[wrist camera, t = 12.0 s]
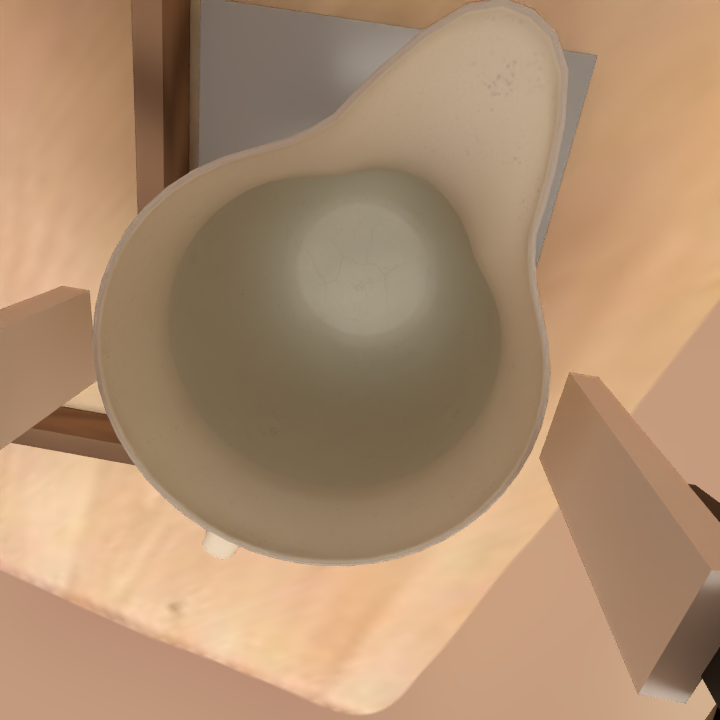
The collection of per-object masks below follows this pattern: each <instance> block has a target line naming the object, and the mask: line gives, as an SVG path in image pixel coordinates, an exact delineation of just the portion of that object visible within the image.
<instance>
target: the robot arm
mask: <svg viewBox="0 0 720 720" xmlns="http://www.w3.org/2000/svg"><path fill="white" fill-rule="evenodd" d="M95 381H97V377H96V371H95V365H94V354H93V326H92V314H91V303H90V291H89V290H83V289H77V288H71V287H65V286H61V287H58V288H56V289H53V290H51V291H48V292H45V293H43V294H40V295H37V296H35V297H32V298H30V299H27V300H24V301H22V302H19V303H16V304H14V305H11V306H8V307H6V308H3V309H1V310H0V450H1V449H2V448H4V447H5V446H7V445H8V444H9V443H11V442H12V441H13V440H15V439H16V438H18V437H19V436H20V435H22V434H23V433H25V432H26V431H27V430H29V429H30V428H32V427H33V426H34V425H36V424H37V423H38V422H40V421H41V420H43V419H44V418H45V417H47V416H48V415H50V414H51V413H52V412H54V411H55V410H56V409H58V408H59V407H61V406H62V405H63V404H65V403H66V402H68V401H69V400H70V399H72V398H73V397H75V396H76V395H77V394H79V393H80V392H81V391H83V390H84V389H86V388H87V387H88V386H90V385H91V384H93V383H94V382H95ZM539 459H540V461H541V464H542V466H543V468H544V471H545V473H546V476H547V478H548V480H549V483H550V485H551V488H552V490H553V492H554V495H555V497H556V499H557V502H558V504H559V507H560V509H561V511H562V514H563V516H564V518H565V521H566V523H567V526H568V528H569V530H570V533H571V535H572V538H573V540H574V543H575V545H576V547H577V550H578V552H579V555H580V557H581V559H582V562H583V564H584V567H585V569H586V571H587V574H588V576H589V578H590V581H591V583H592V586H593V588H594V590H595V593H596V595H597V598H598V600H599V602H600V605H601V607H602V610H603V612H604V614H605V617H606V619H607V622H608V624H609V626H610V629H611V631H612V633H613V636H614V638H615V641H616V643H617V646H618V648H619V650H620V653H621V655H622V658H623V660H624V662H625V665H626V667H627V669H628V672H629V674H630V676H631V679H632V681H633V684H634V686H635V688H636V691H637V693H638V695H643V696H649V697H654V698H659V699H664V700H670V701H675V702H680V703H686V702H687V701H688V699H689V698H690V696H691V695H692V693H693V692H694V690H695V689H696V687H697V686H698V684H699V683H700V681H701V680H702V679H703V680H704V682H705V684H706V686H707V688H708V690H709V691H710V693H711V695H712V697H713V699H714V700H715V702H716V705H715V706H714V708H713V709H712V711H711V712H710V714H709V715H708V716H707V718H706V719H705V720H720V503H719V502H717V501H716V500H715V499H713V498H712V497H711V496H710V495H708V494H707V493H705V492H704V491H703V490H701V489H700V488H699V487H697V486H696V485H691V484H687V483H686V482H685V480H684V479H683V478H682V477H681V475H680V474H679V473H678V472H677V471H676V469H675V468H674V467H673V466H672V465H671V464H670V462H669V461H668V460H667V459H666V457H665V456H664V455H663V454H662V453H661V451H660V450H659V449H658V448H657V447H656V446H655V444H654V443H653V442H652V441H651V440H650V438H649V437H648V436H647V435H646V434H645V432H644V431H643V430H642V429H641V428H640V426H639V425H638V424H637V423H636V422H635V420H634V419H633V418H632V417H631V416H630V414H629V413H628V412H627V411H626V410H625V408H624V407H623V406H622V405H621V404H620V402H619V401H618V400H617V399H616V398H615V396H614V395H613V394H612V393H611V392H610V390H609V389H608V388H607V387H606V386H605V384H604V383H603V382H602V381H601V380H600V378H599V377H594V376H589V375H583V374H577V373H571V372H569V375H568V378H567V381H566V384H565V387H564V389H563V392H562V395H561V398H560V401H559V404H558V406H557V409H556V412H555V415H554V418H553V421H552V423H551V426H550V429H549V432H548V435H547V438H546V441H545V443H544V446H543V449H542V452H541V455H540V458H539Z"/></svg>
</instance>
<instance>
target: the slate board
mask: <svg viewBox="0 0 720 720" xmlns="http://www.w3.org/2000/svg"><path fill="white" fill-rule="evenodd" d="M421 31H422V29H415V28H409V27H402V26H395V25H388V24H382V23H375V22H368V21H362V20H355V19H348V18H341V17H335V16H328V15H321V14H314V13H308V12H301V11H294V10H287V9H281V8H274V7H267V6H260V5H254V4H247V3H240V2H233V1H227V0H201V17H200V85H199V153H198V167H201V166H203V165H205V164H207V163H210V162H212V161H214V160H216V159H219V158H221V157H223V156H227V155H230V154H233V153H237V152H240V151H244V150H247V149H251V148H254V147H257V146H261V145H264V144H268V143H271V142H275V141H278V140H282V139H285V138H288V137H290V136H293V135H295V134H297V133H299V132H302V131H304V130H306V129H308V128H311V127H313V126H314V125H316V124H318V123H319V122H321V121H323V120H324V119H326V118H328V117H329V116H331V115H333V114H334V113H335V112H336V111H337V110H338V109H339V108H340V107H341V106H342V104H343V103H344V102H345V101H346V100H347V99H348V98H349V97H350V96H351V95H352V94H353V93H354V92H355V91H356V90H357V89H358V88H359V87H360V86H361V85H362V84H363V83H364V82H365V81H366V80H367V79H368V78H369V77H370V76H371V75H372V74H373V73H374V72H375V71H376V70H377V69H378V68H379V67H380V66H381V65H382V64H383V63H384V62H386V61H387V60H388V59H389V58H390V57H391V56H393V55H394V54H395V53H396V52H397V51H399V50H400V49H401V48H402V47H403V46H404V45H406V44H407V43H408V42H409V41H410V40H411V39H413V38H414V37H415V36H416V35H417V34H419V33H420V32H421ZM563 54H564V57H565V60H566V64H567V67H568V86H567V103H566V119H565V127H564V131H563V136H562V141H561V146H560V151H559V156H558V161H557V166H556V171H555V175H554V178H553V182H552V186H551V189H550V193H549V196H548V200H547V204H546V207H545V211H544V214H543V217H542V220H541V223H540V226H539V229H538V232H537V235H536V253H535V265H536V267H537V264H538V260H539V257H540V253H541V250H542V247H543V243H544V240H545V236H546V233H547V229H548V226H549V222H550V219H551V215H552V212H553V208H554V205H555V201H556V198H557V194H558V191H559V187H560V184H561V180H562V177H563V173H564V170H565V167H566V163H567V160H568V156H569V153H570V149H571V146H572V142H573V139H574V135H575V132H576V128H577V125H578V121H579V118H580V114H581V111H582V107H583V104H584V100H585V97H586V94H587V90H588V87H589V83H590V80H591V76H592V73H593V69H594V66H595V62H596V59H597V55H591V54H584V53H577V52H571V51H564V50H563Z"/></svg>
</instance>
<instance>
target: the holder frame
mask: <svg viewBox="0 0 720 720" xmlns="http://www.w3.org/2000/svg"><path fill="white" fill-rule="evenodd" d="M131 9H132V41H133V73H134V105H135V137H136V170H137V202H138V215H139V213H140V212H141V211H142V210H143V208H144V207H145V206H146V205H147V204H149V203H150V202H151V201H152V200H153V199H154V198H155V197H156V196H157V195H158V194H160V193H161V192H162V191H163V190H164V189H165V188H166V187H167V186H169V185H171V184H172V183H174V182H175V181H177V180H178V179H180V178H181V177H183V176H184V175H186V174H188V173H189V41H190V0H131ZM11 443H16V444H21V445H27V446H32V447H38V448H43V449H49V450H54V451H60V452H65V453H71V454H76V455H82V456H87V457H93V458H98V459H104V460H109V461H115V462H120V463H126V464H132V465H135V464H134V463H133V461H132V460H131V459H130V457H129V455H128V454H127V452H126V450H125V449H124V447H123V445H122V444H121V442H120V441H119V439H118V437H117V435H116V433H115V431H114V429H113V426H112V424H111V422H110V420H109V418H108V415H105V414H99V413H93V412H88V411H82V410H77V409H71V408H65V407H59V408H58V409H56V410H55V411H54V412H52V413H51V414H50V415H48V416H47V417H45V418H44V419H43V420H41V421H40V422H38V423H37V424H36V425H34V426H33V427H32V428H30V429H29V430H27V431H26V432H25V433H23V434H22V435H20V436H19V437H18V438H16V439H15V440H13V441H12V442H11Z"/></svg>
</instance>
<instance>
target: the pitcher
mask: <svg viewBox="0 0 720 720" xmlns="http://www.w3.org/2000/svg"><path fill="white" fill-rule="evenodd" d="M567 86H568V67H567V64H566V60H565V57H564V54H563V50H562V47H561V44H560V40H559V37H558V34H557V32H556V31H555V30H554V29H553V28H552V27H551V26H550V25H549V24H548V23H547V22H546V21H545V20H544V19H543V18H542V17H541V16H540V15H539V14H538V13H537V12H536V11H535V10H534V9H532V8H530V7H527V6H525V5H522V4H520V3H517V2H514V1H512V0H485V1H479V2H473V3H466V4H464V5H463V6H461V7H460V8H458V9H456V10H455V11H453V12H452V13H450V14H448V15H447V16H445V17H443V18H442V19H440V20H439V21H437V22H435V23H434V24H432V25H430V26H429V27H427V28H426V29H424V30H422V31H421V32H420V33H419V34H417V35H416V36H415V37H414V38H413V39H411V40H410V41H409V42H408V43H407V44H406V45H404V46H403V47H402V48H401V49H400V50H399V51H397V52H396V53H395V54H394V55H393V56H391V57H390V58H389V59H388V60H387V61H386V62H384V63H383V64H382V65H381V66H380V67H379V68H378V69H377V70H376V71H375V72H374V73H373V74H372V75H371V76H370V77H369V78H368V79H367V80H366V81H365V82H364V83H363V84H362V85H361V86H360V87H359V88H358V89H357V90H356V91H355V92H354V93H353V94H352V95H351V96H350V97H349V98H348V99H347V100H346V101H345V102H344V103H343V104H342V106H341V107H340V108H339V109H338V110H337V111H336V112H335V113H334V114H333V115H331V116H329V117H328V118H326V119H324V120H323V121H321V122H319V123H318V124H316V125H314V126H313V127H311V128H308V129H306V130H304V131H302V132H299V133H297V134H295V135H293V136H290V137H288V138H285V139H282V140H278V141H275V142H271V143H268V144H264V145H261V146H257V147H254V148H251V149H247V150H244V151H240V152H237V153H233V154H230V155H227V156H223V157H221V158H219V159H216V160H214V161H212V162H210V163H207V164H205V165H203V166H201V167H198V168H196V169H194V170H192V171H191V172H189V173H188V174H186V175H184V176H183V177H181V178H180V179H178V180H177V181H175V182H174V183H172V184H171V185H169V186H167V187H166V188H165V189H164V190H163V191H162V192H161V193H160V194H158V195H157V196H156V197H155V198H154V199H153V200H152V201H151V202H150V203H149V204H147V205H146V206H145V207H144V208H143V210H142V211H141V212H140V213H139V215H138V216H137V217H136V218H135V220H134V221H133V222H132V223H131V225H130V226H129V227H128V228H127V230H126V231H125V233H124V234H123V236H122V238H121V240H120V241H119V243H118V245H117V247H116V248H115V250H114V252H113V254H112V255H111V258H110V261H109V263H108V266H107V268H106V271H105V273H104V276H103V278H102V281H101V285H100V289H99V294H98V298H97V302H96V306H95V315H94V325H93V354H94V365H95V371H96V377H97V382H98V388H99V391H100V394H101V397H102V401H103V404H104V407H105V410H106V413H107V415H108V418H109V420H110V422H111V424H112V426H113V429H114V431H115V433H116V435H117V437H118V439H119V441H120V442H121V444H122V445H123V447H124V449H125V450H126V452H127V454H128V455H129V457H130V459H131V460H132V461H133V463H134V464H135V465H136V467H137V468H138V469H139V470H140V472H141V473H142V474H143V476H144V477H145V478H146V480H147V481H148V482H149V483H150V484H151V485H152V486H153V487H154V488H155V489H156V490H157V491H158V492H159V493H160V494H161V495H162V496H163V497H164V498H165V499H166V500H167V501H168V502H170V503H171V504H172V505H173V506H174V507H175V508H177V509H178V510H179V511H180V512H181V513H183V514H184V515H185V516H187V517H188V518H190V519H191V520H192V521H194V522H195V523H197V524H198V525H200V526H201V527H203V528H204V529H206V533H205V536H204V539H203V542H202V545H203V547H204V550H205V552H207V553H208V554H210V555H212V556H213V557H216V558H219V559H222V560H223V559H227V558H231V557H232V556H233V555H234V553H235V552H236V551H237V549H238V548H239V547H242V548H245V549H247V550H249V551H252V552H255V553H259V554H262V555H265V556H268V557H271V558H275V559H280V560H284V561H289V562H294V563H299V564H309V565H318V566H355V565H365V564H374V563H379V562H384V561H388V560H393V559H398V558H401V557H404V556H407V555H410V554H413V553H416V552H419V551H422V550H424V549H426V548H429V547H431V546H433V545H435V544H437V543H439V542H442V541H444V540H446V539H447V538H449V537H450V536H452V535H454V534H455V533H457V532H459V531H460V530H462V529H464V528H465V527H467V526H468V525H469V524H470V523H472V522H473V521H474V520H475V519H477V518H478V517H479V516H480V515H482V514H483V513H484V512H485V511H486V510H487V509H488V508H489V507H490V506H491V505H492V504H493V503H494V502H495V501H496V500H497V499H498V498H499V497H500V496H501V495H502V494H503V493H504V492H505V491H506V489H507V488H508V487H509V485H510V484H511V483H512V481H513V480H514V479H515V478H516V476H517V475H518V474H519V472H520V470H521V469H522V467H523V465H524V463H525V462H526V460H527V458H528V456H529V455H530V453H531V451H532V449H533V446H534V444H535V441H536V439H537V436H538V434H539V432H540V429H541V427H542V423H543V418H544V414H545V410H546V406H547V402H548V394H549V383H550V358H549V343H548V338H547V333H546V328H545V323H544V318H543V313H542V308H541V303H540V298H539V293H538V288H537V279H536V265H535V253H536V235H537V232H538V229H539V226H540V223H541V220H542V217H543V214H544V211H545V207H546V204H547V200H548V196H549V193H550V189H551V186H552V182H553V178H554V175H555V171H556V166H557V161H558V156H559V151H560V146H561V141H562V136H563V131H564V127H565V119H566V103H567Z"/></svg>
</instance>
